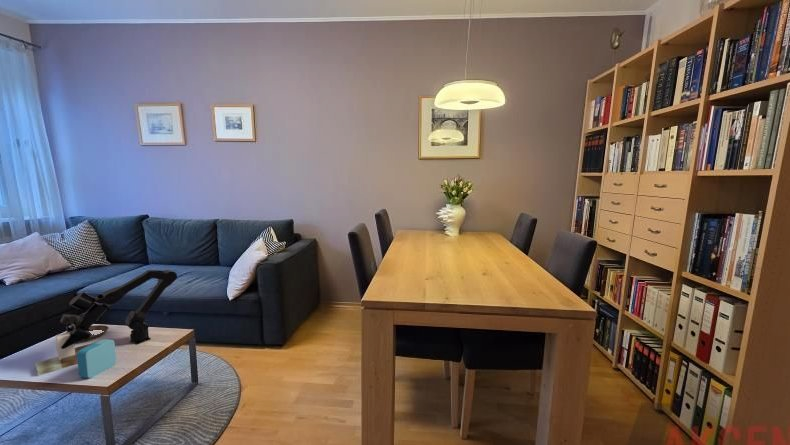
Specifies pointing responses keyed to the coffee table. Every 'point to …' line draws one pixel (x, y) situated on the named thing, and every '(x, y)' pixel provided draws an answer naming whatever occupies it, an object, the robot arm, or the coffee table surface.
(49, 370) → the walnut channel
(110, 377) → the coffee table surface
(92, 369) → the data package
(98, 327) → the plant saucer
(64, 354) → the cream block
